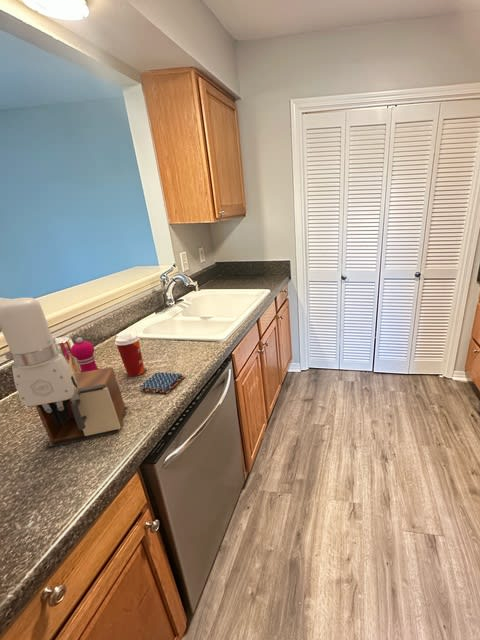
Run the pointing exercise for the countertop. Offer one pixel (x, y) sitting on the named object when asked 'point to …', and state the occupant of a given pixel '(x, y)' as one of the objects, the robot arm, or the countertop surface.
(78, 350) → the pepper mill
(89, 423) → the sliding door
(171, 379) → the woven mat
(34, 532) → the countertop surface
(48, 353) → the robot arm
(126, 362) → the paper cup
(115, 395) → the cabinet
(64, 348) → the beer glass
